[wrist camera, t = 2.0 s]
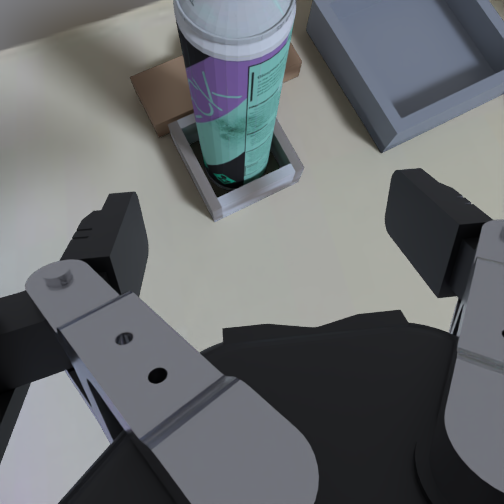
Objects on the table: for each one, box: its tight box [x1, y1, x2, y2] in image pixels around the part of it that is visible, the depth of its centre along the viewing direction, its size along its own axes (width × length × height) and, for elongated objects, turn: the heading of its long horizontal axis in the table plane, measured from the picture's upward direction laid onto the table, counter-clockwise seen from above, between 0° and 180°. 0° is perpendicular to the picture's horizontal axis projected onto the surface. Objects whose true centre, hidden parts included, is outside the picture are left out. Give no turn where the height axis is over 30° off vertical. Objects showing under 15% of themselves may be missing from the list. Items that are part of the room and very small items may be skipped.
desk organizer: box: [130, 42, 304, 222], centre depth 33 cm, size 14×15×4 cm
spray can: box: [173, 0, 296, 191], centre depth 24 cm, size 6×6×20 cm
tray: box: [306, 0, 504, 153], centre depth 35 cm, size 14×14×4 cm
